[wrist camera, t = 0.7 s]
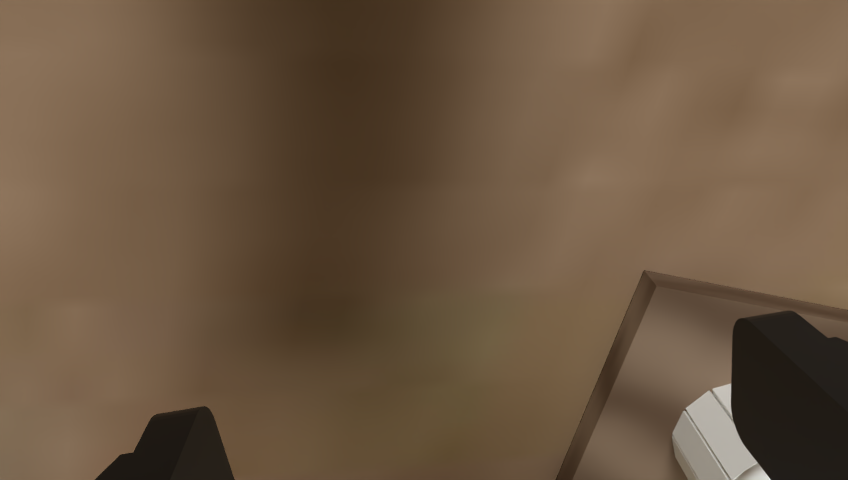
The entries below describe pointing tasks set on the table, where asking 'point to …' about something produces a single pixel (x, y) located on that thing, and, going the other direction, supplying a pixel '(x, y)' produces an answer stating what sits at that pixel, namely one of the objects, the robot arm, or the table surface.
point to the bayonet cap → (713, 441)
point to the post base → (668, 373)
